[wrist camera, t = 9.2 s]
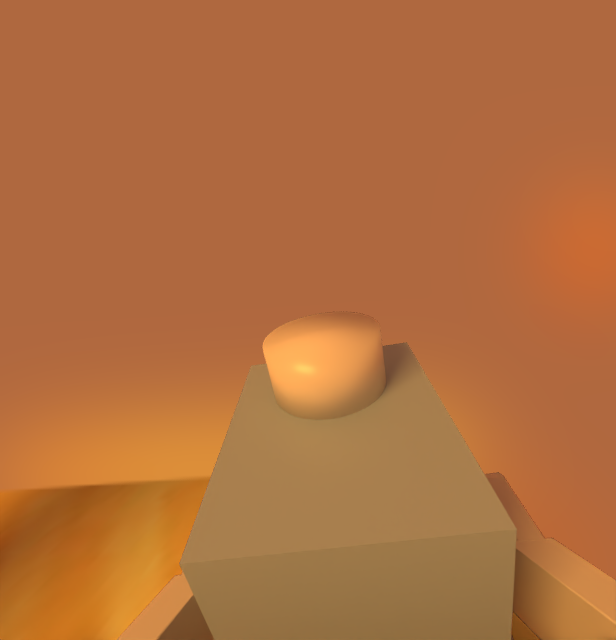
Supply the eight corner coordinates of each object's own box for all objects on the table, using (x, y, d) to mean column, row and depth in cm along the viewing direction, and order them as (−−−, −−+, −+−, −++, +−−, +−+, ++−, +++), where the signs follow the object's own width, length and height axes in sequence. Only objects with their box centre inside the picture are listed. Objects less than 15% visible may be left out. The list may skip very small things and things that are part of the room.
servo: (308, 843, 7) (144, 491, 4) (311, 589, 12) (239, 323, 8) (500, 837, 7) (521, 445, 3) (427, 578, 12) (403, 296, 8)
